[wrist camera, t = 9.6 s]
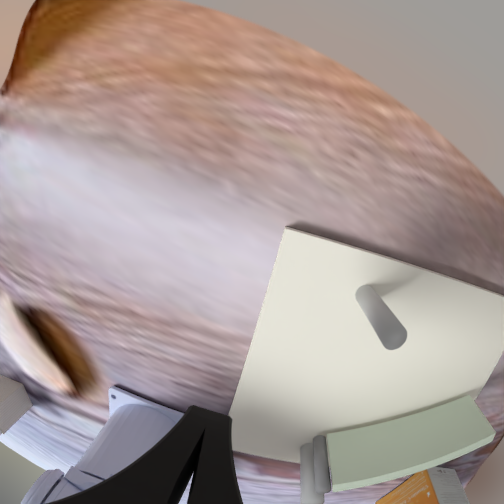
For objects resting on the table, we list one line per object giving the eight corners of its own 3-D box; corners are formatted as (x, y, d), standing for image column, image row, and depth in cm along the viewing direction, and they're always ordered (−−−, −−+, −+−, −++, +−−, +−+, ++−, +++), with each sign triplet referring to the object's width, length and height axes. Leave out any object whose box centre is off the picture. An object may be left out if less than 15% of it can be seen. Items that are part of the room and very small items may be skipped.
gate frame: (419, 461, 21) (436, 508, 14) (220, 438, 21) (204, 497, 15) (517, 300, 16) (566, 331, 10) (285, 226, 17) (285, 248, 11)
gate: (313, 444, 19) (315, 494, 14) (312, 436, 19) (315, 487, 14) (466, 403, 17) (492, 441, 12) (469, 394, 17) (496, 432, 12)
